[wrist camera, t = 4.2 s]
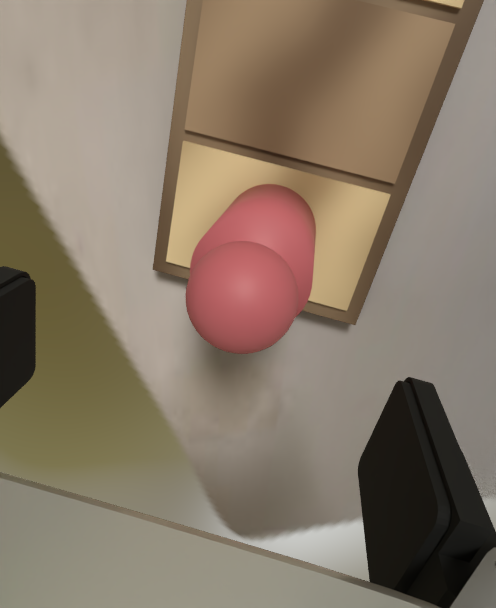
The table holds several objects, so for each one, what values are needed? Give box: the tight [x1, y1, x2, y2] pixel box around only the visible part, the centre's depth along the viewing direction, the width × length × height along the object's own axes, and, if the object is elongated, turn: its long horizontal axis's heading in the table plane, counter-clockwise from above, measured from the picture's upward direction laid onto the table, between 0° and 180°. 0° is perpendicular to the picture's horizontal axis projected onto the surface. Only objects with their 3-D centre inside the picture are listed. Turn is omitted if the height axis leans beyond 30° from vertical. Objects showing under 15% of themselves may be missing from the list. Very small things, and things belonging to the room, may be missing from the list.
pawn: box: [186, 184, 316, 354], centre depth 16 cm, size 4×4×9 cm
